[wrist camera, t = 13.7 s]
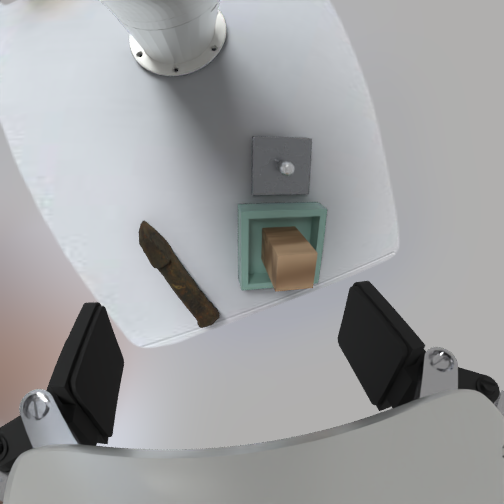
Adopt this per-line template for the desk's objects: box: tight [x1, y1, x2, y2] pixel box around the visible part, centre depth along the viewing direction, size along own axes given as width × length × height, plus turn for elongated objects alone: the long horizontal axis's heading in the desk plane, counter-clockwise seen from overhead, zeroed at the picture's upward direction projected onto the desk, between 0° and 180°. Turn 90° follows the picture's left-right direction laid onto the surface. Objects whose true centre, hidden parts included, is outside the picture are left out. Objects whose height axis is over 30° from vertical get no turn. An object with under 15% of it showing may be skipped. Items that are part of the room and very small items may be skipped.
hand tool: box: [139, 221, 219, 328], centre depth 41 cm, size 19×4×5 cm, turn 23°
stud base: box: [252, 137, 312, 195], centre depth 36 cm, size 8×8×4 cm
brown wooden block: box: [261, 226, 318, 292], centre depth 39 cm, size 5×5×9 cm
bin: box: [238, 202, 327, 290], centre depth 42 cm, size 12×12×4 cm
